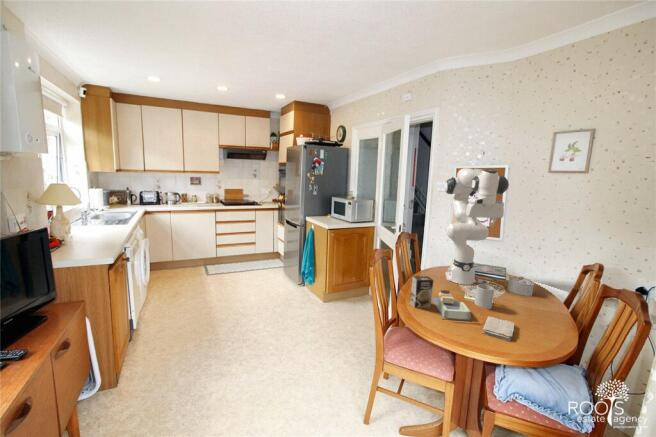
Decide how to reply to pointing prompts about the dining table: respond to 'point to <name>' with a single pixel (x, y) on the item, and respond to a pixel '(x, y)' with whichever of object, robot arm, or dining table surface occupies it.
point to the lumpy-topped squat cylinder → (521, 286)
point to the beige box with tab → (446, 297)
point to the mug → (484, 296)
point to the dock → (452, 310)
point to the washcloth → (499, 328)
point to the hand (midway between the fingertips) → (483, 225)
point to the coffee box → (421, 291)
